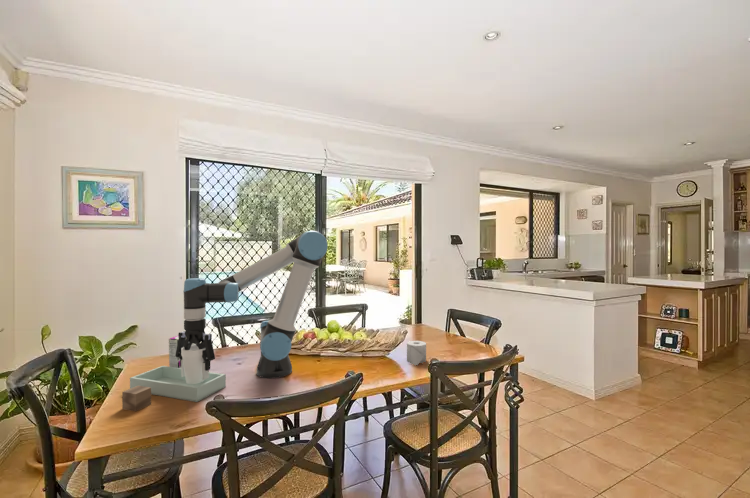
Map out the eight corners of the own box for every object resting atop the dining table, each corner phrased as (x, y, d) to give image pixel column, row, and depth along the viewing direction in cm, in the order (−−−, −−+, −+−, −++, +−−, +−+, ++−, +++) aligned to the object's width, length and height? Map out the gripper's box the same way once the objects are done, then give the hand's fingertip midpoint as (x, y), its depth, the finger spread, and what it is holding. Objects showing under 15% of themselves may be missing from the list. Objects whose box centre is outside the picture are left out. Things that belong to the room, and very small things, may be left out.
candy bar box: (186, 367, 171) (186, 332, 171) (196, 368, 170) (196, 332, 170) (168, 376, 160) (168, 338, 160) (178, 377, 159) (178, 338, 159)
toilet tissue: (416, 367, 173) (416, 348, 173) (403, 358, 186) (403, 341, 186) (433, 364, 177) (433, 346, 177) (419, 356, 189) (420, 339, 189)
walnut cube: (151, 404, 133) (151, 387, 133) (135, 411, 127) (135, 394, 127) (138, 402, 134) (138, 385, 134) (122, 409, 129) (122, 391, 129)
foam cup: (187, 376, 148) (187, 344, 148) (211, 376, 149) (211, 343, 149) (177, 386, 139) (176, 351, 139) (202, 385, 140) (202, 350, 139)
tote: (225, 386, 149) (225, 374, 149) (197, 402, 135) (196, 388, 134) (162, 377, 159) (162, 365, 159) (130, 390, 144) (129, 377, 144)
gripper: (225, 318, 144) (225, 377, 144) (180, 315, 151) (180, 370, 151) (211, 322, 137) (211, 383, 137) (164, 318, 143) (164, 377, 144)
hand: (195, 377), depth 144 cm, fingers closed on foam cup, 9 cm apart
